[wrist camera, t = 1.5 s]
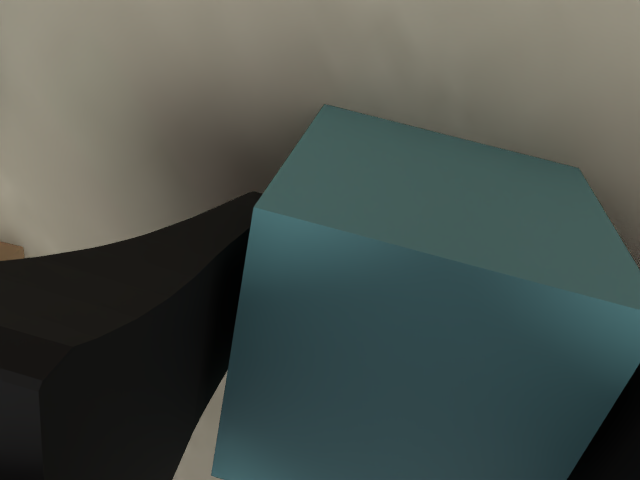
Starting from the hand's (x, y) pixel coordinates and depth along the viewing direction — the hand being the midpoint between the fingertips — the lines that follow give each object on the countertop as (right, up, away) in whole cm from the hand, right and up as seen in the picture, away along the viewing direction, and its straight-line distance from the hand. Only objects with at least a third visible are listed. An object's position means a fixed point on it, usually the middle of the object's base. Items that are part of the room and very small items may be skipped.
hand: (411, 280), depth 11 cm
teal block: (0, +1, +1) cm, 2 cm away
